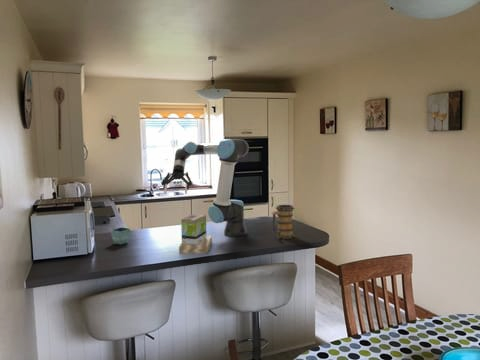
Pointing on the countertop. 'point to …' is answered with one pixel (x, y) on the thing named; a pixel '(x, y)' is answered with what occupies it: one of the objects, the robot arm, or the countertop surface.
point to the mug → (283, 221)
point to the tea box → (193, 229)
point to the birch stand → (196, 246)
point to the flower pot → (120, 235)
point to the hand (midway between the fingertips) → (175, 193)
